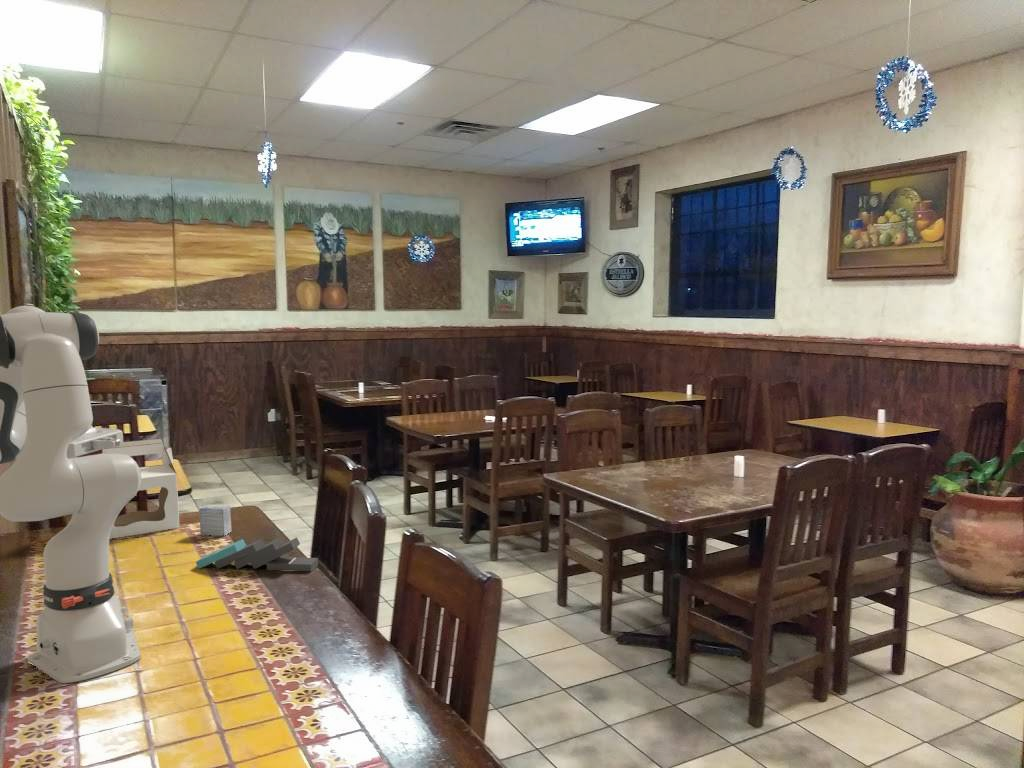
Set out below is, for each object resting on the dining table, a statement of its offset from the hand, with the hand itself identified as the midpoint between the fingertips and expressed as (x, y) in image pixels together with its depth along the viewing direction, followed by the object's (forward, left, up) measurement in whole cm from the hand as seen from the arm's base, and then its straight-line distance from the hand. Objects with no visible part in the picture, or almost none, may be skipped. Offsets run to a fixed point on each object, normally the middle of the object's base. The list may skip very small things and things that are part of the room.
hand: (117, 443), depth 180 cm
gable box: (+43, -16, -35) cm, 58 cm away
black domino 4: (-19, -30, -34) cm, 49 cm away
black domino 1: (-9, -21, -34) cm, 41 cm away
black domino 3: (-16, -27, -34) cm, 46 cm away
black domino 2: (-13, -24, -34) cm, 44 cm away
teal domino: (-5, -18, -34) cm, 39 cm away
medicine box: (+20, -31, -35) cm, 51 cm away
